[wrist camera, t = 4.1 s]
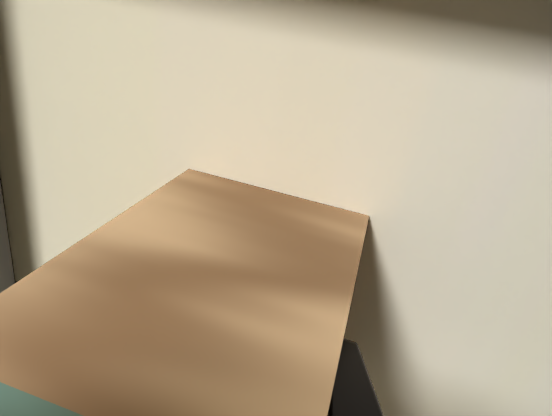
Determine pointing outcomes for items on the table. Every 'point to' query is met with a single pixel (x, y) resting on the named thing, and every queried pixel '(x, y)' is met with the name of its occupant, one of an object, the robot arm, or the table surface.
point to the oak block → (187, 309)
